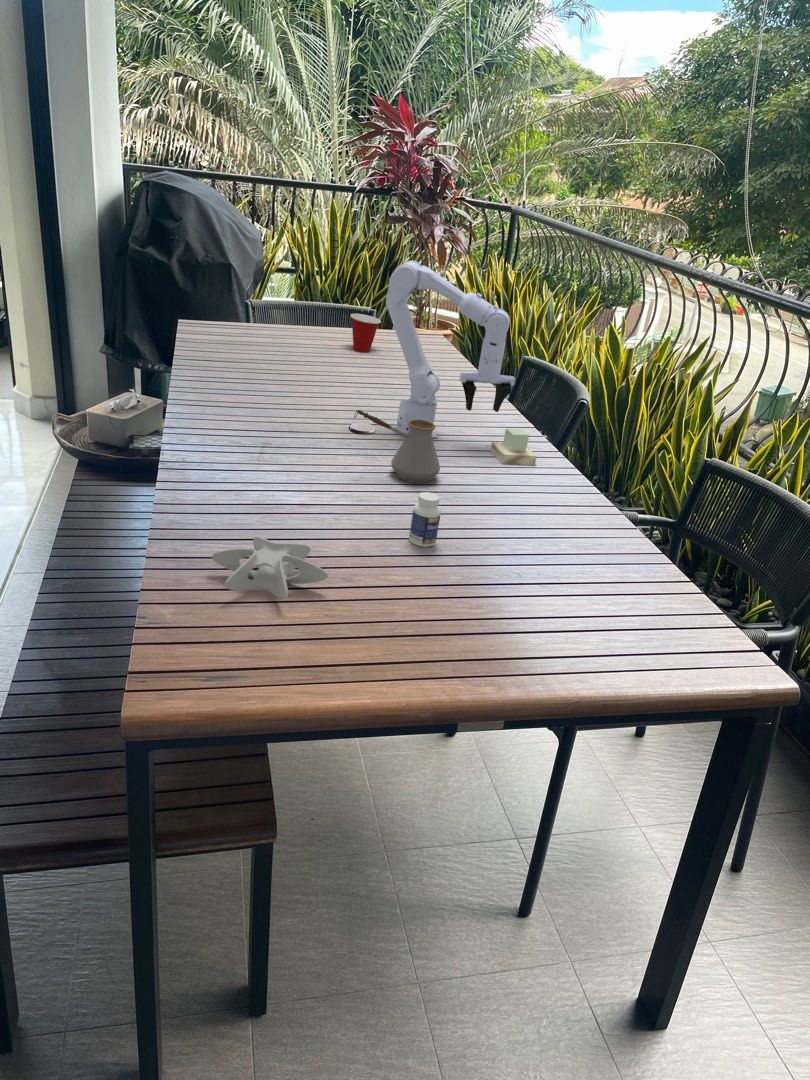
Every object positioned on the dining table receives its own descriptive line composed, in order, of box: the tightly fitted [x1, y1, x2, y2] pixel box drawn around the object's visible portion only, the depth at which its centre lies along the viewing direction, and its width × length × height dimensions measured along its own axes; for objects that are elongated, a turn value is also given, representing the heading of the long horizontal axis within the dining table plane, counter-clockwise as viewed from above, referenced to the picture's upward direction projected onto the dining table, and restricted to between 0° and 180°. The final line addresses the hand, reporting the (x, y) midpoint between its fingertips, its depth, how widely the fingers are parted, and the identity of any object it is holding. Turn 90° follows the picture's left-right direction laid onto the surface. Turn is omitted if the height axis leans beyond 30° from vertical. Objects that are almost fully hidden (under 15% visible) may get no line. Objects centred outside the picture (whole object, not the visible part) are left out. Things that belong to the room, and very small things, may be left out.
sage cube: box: [502, 428, 530, 451], centre depth 215 cm, size 4×4×4 cm
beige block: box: [490, 441, 537, 466], centre depth 216 cm, size 9×9×3 cm
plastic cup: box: [350, 313, 382, 353], centre depth 296 cm, size 11×11×12 cm
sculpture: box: [211, 536, 329, 600], centre depth 141 cm, size 18×20×6 cm
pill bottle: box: [408, 491, 442, 548], centre depth 163 cm, size 5×5×10 cm
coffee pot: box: [353, 409, 441, 484], centre depth 191 cm, size 21×12×15 cm, turn 99°
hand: (482, 410), depth 219 cm, fingers open, 7 cm apart
